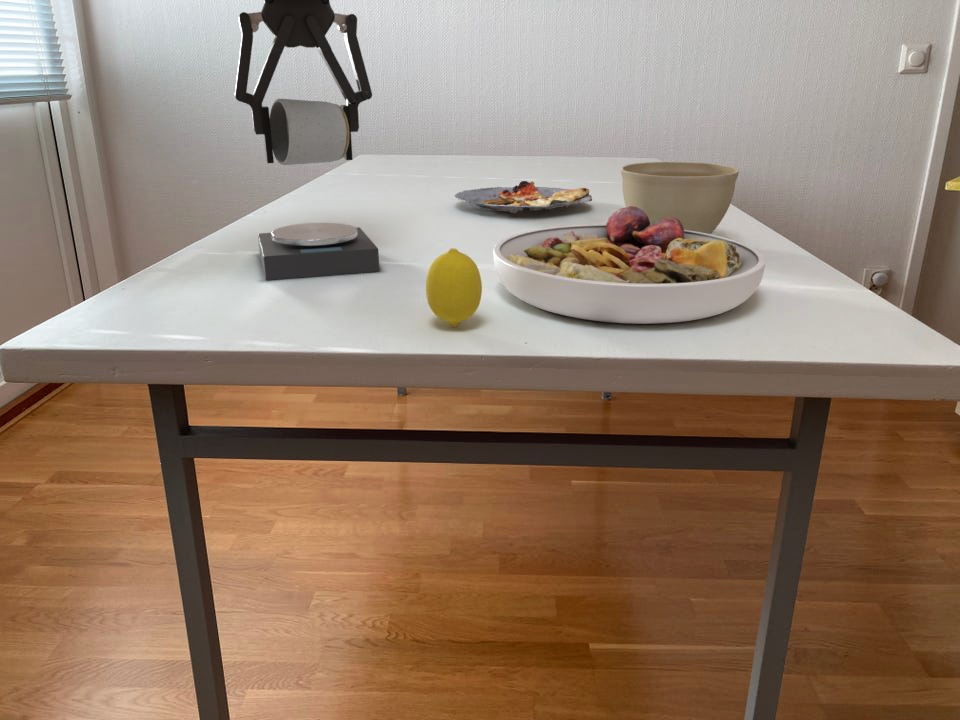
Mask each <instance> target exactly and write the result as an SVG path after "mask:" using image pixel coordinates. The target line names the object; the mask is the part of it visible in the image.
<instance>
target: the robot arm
mask: <svg viewBox="0 0 960 720" xmlns="http://www.w3.org/2000/svg"><path fill="white" fill-rule="evenodd" d="M261 22H263V23H264V25H265V26H266V27H267V28H268V30H269V31H270V32H271V33H272V35H273V36H274V38H273V41H272V43H271V46H270V49H269V51H268V54H267V57H266V59H265V62H264V65H263V66H262V69H261V72H260V74H259V77H258V79H257V82H256V85H255V88H254V90H253V93H249V92H247V91H248V84H249V83H248V82H249V75H250V65H251V59H252V49H253V44H254V43H253V42H254V33H256V32H258V30H259V27H260V23H261ZM334 23H335V24H336V26H337V29H338V31H339V33H341V34H343V39H344V44H345V46H346V51H347V54H348V58H349V61H350V65H351V69H352V73H353V76H354V77H353V78H354V80H355V84H356V88H357V91H354V88H353V87H352V85H351V83H350V81H349V79H348V77H347V76H346V73H345V72H344V70H343V68H342V66H341V65H340V62H339V61H338V59H337V57H336V55H335V53H334V52H333V49H332V47H331V45H330V43H329V41H328V39H327V37H326V35H327V34H328V32H329V30H330V28H331V27H332V26H333V24H334ZM238 24H239V29H240V32H241V39H240V48H239V56H238V64H237V71H236V73H237V74H236V81H235V89H234V90H235V91H234V98H235V100H237V101H238V102H240V103H243V104H246V105H248V106H250V108H251V116H252V117H251V118H252V126H253V131H254V133H255V135H257V136H259V135H263V143H264V151H265V152H264V153H265V161H266V163H267V164H274V163H275V161H274V153H273V149H272V138H271V128H270V109H269V107H268V106H267V105H266V106H263V102H264V99H265V97H266V94H267V92H268V89H269V87H270V85H271V81H272V79H273V76H274V75H275V72H276V68H277V67H278V64H279V61H280V60H281V56H282V55H283V53H284V50H285V47H286V48H288V49H289V48H297V47H303V48H308V49H310V48H312V49H313V48H316V50H317V52H318V54H319V55H320V57H321V59H322V60H323V62H324V64H325V65H326V68H327V70H328V71H329V73H330V75H331V76H332V78H333V80H334V82H335V84H336V86H337V88H338V89H339V91H340V93H341V95H342V97H343V98H344V101H345V103H346V104H340V105H339V106H340V107H341V108H342V109H343V111H344V113H345V114H346V117H347V120H348V124H349V145H348V149H347V152H346V153H345V155H344V156H343V158H342V159H344V160H346V161H353V144H352V143H353V142H352V133H358V132H359V129H360V120H359V106H360V104H361V103H362V102H365V101H367V100H371V99H372V98H373V97H372V96H373V92H372V87H371V85H370V81H369V76H368V72H367V70H366V65H365V61H364V59H363V54H362V50H361V47H360V43H359V40H358V35H357V33H358V32H357V31H358V17H357V15H355V13H349V14H344V13H336V12H335V11H334V10H333V8H332V5H331V2H330V0H263V6H262V8H261V11H257V12H249V13H248V12H246V11H242V12H240V14H239V15H238Z"/></svg>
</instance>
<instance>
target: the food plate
mask: <svg viewBox="0 0 960 720" xmlns="http://www.w3.org/2000/svg"><path fill="white" fill-rule="evenodd" d="M454 197H455V198H456V199H457V200H458V201H463V202H466V203H469V204H473V205H476V206H477V207H478V208H481V209H485V210H489V211H495V212H506V213H508V212H509V213H511V214H514V213H518V211H524V209H529V211H539V210H540V211H543V212H544V211H546V210H554V209H556V208H562V207H563V208H566V209H568V208H569V206H571V207H572V206H574V205H579V204H581V203H588V202H592V201H593V198H592V197H593V196H592V195H591V194H590V189H589V188H586V187H579V188H575V189H569V188H560V187H545V186H544V187H543V186H536V185H535V182H534V181H533V180H532V181H530V182H529V181H527V180H522V181H521V180H520V182H519V183H518V185H514V186H510V187H509V186H508V187H507V186H505V187H502V186H497V187H496V186H494V187H493V186H492V187H481V188H474V189H467V190H462V191H459V192H457V193H455V194H454Z"/></svg>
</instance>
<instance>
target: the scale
mask: <svg viewBox="0 0 960 720" xmlns="http://www.w3.org/2000/svg"><path fill="white" fill-rule="evenodd" d="M356 228H357V232H358V235H357V237H356V238H355V239H353V240H350V241H347V242H343V243H338V244H331V245H321V246H293V245H285V244H280V243H277V242H274V241H273V240H272V232H261V233H259V232H258V233H257V241H258V247H259V249H258V250H259V257H260V261H261V266H262V270H263V275H264V277H265V280H266V281H274V280H275V281H276V280H288V279H301V278H312V277H327V276H338V275H339V276H340V275H341V276H342V275H350V274H352V275H353V274H366V273H376V272H377V273H378V272H380V256H379V248H378V246H376V244H375V243H374V242H373V241H372V240H371V238H370V237H369V236H368V235H367V234H366V233H365V232H364V230H362V228H361V227H359V226H358V227H356Z"/></svg>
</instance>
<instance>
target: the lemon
mask: <svg viewBox="0 0 960 720" xmlns="http://www.w3.org/2000/svg"><path fill="white" fill-rule="evenodd" d="M426 275H427V276H426V281H425V294H426V300H427V304H428V306H429V308H430V310H431V312H432V313H433V314H434V315H435V316H436V317H437V318H439V319H440V320H442V321H445V322H446V323H448V325H449V326H450V327H452V328H456V327H458V326H459V325H460V324H461V323H462V322H463V321H466V320H468V319H469V318H471V317H473V315H474V314H475V313H476V311H478V308H479V306H480V303H481V299H482V292H483V285H482V284H483V283H482V277H481V273H480V270H479V268H478V266H477V264H476V263H475V261H474V260H473V259H472V258H471V257H470V256H468V255H467V254H465V253H463V252H461V251H459V250H458V249H457V248H449V250H448V251H447V252H444V253H442V254H440V255H439V256H437V257H436V258H435V259H434V260H433V261H432V263H431V264H430V265H429V268H428V272H427V274H426Z"/></svg>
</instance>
